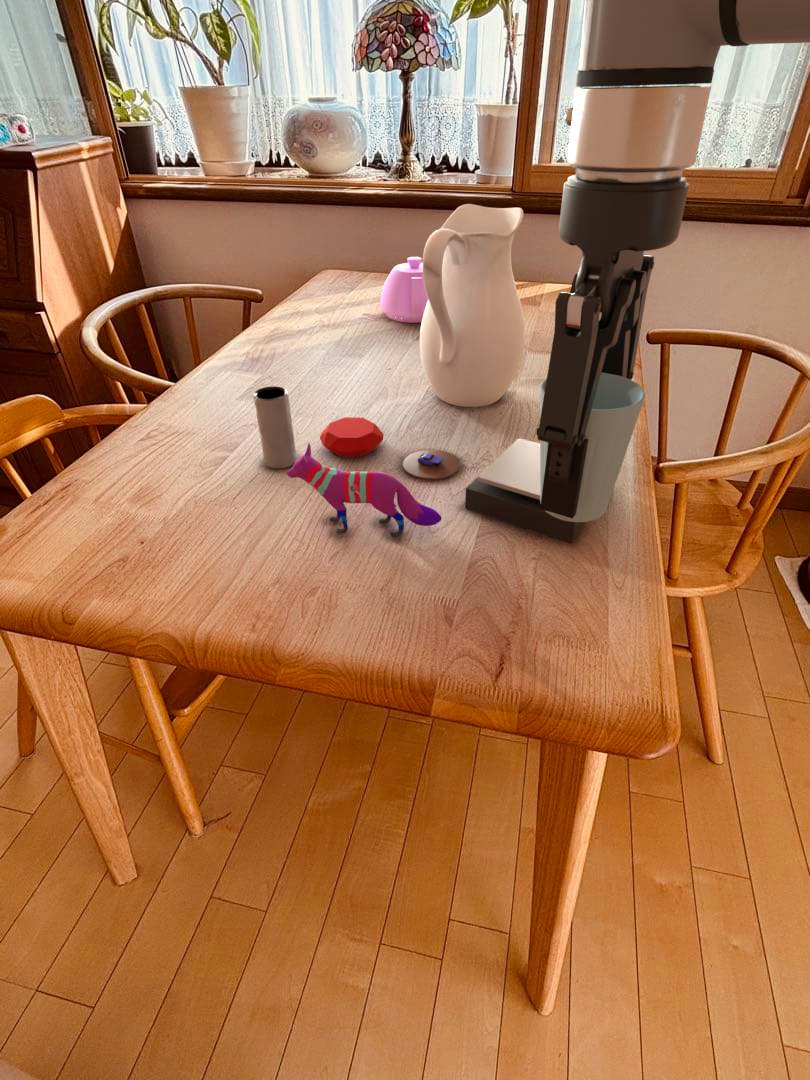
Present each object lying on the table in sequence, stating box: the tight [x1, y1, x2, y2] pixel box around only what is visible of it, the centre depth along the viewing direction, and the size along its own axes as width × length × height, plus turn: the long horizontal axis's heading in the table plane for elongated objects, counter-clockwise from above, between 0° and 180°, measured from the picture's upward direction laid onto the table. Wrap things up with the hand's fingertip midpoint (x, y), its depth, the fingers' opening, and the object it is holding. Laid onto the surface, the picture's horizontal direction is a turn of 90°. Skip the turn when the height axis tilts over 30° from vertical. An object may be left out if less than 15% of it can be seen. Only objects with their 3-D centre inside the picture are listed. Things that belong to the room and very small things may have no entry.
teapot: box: [379, 256, 428, 324], centre depth 140 cm, size 22×16×12 cm
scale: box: [464, 437, 587, 544], centre depth 79 cm, size 14×14×4 cm
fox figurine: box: [285, 442, 443, 538], centre depth 72 cm, size 4×18×10 cm, turn 85°
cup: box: [539, 372, 646, 523], centre depth 50 cm, size 8×8×10 cm
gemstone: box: [319, 416, 385, 458], centre depth 91 cm, size 9×9×3 cm
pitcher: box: [419, 203, 526, 408], centre depth 96 cm, size 24×17×28 cm
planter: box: [252, 385, 298, 469], centre depth 86 cm, size 4×4×10 cm
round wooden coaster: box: [402, 449, 462, 482], centre depth 87 cm, size 8×8×2 cm
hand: (575, 488), depth 52 cm, fingers closed on cup, 7 cm apart
